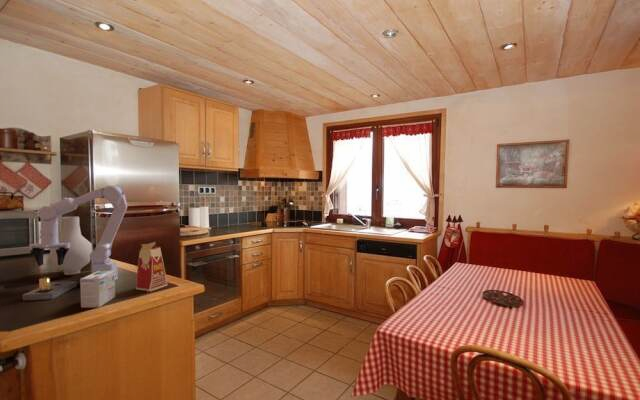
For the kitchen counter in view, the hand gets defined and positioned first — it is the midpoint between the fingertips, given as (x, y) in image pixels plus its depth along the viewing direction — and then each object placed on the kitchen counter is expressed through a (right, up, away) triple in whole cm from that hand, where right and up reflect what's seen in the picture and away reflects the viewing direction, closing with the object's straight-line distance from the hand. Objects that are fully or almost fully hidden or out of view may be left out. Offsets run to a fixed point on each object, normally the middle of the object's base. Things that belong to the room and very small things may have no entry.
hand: (50, 264), depth 138 cm
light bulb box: (+34, -11, -18) cm, 40 cm away
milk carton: (+44, -10, 0) cm, 45 cm away
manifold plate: (+8, -10, -8) cm, 15 cm away
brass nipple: (+8, -10, -12) cm, 18 cm away
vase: (-7, -8, +21) cm, 23 cm away
